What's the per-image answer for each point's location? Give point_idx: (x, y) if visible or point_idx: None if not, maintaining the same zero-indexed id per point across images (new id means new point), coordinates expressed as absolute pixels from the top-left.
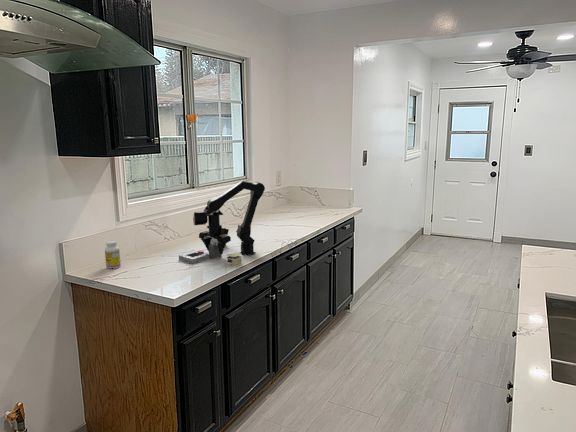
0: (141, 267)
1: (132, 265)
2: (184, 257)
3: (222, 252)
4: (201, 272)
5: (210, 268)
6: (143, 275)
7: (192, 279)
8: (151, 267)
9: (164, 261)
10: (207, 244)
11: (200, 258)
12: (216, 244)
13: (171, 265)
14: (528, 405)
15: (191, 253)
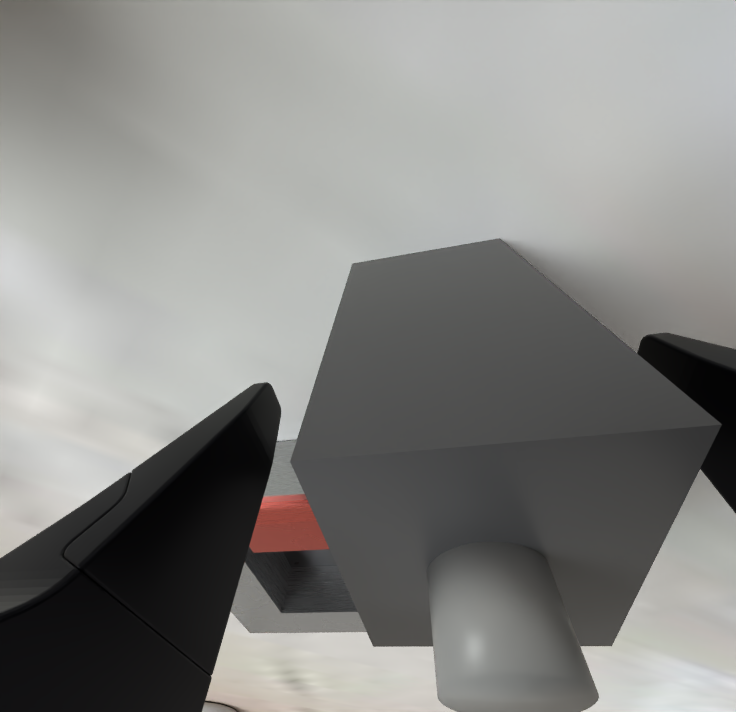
0: (286, 684)
1: (225, 687)
2: (337, 626)
3: (707, 351)
4: (694, 614)
5: (712, 554)
6: (416, 707)
7: (721, 669)
8: (319, 673)
9: (240, 623)
10: (215, 568)
11: None
12: (561, 556)
13: (361, 633)
14: None
15: (251, 570)
